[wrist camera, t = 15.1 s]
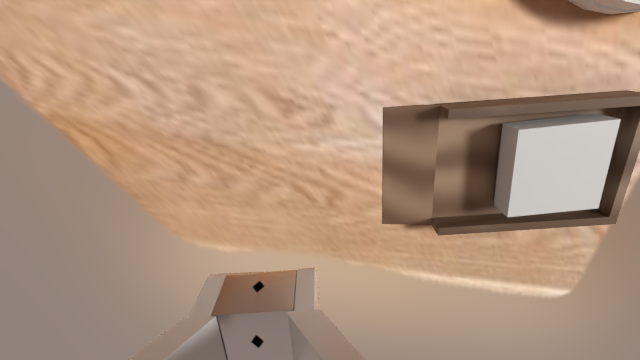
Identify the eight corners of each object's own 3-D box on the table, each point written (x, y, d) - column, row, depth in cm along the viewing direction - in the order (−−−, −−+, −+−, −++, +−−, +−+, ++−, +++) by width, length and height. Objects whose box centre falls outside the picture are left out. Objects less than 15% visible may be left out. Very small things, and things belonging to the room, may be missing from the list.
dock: (382, 106, 37) (389, 113, 33) (622, 89, 36) (657, 94, 33) (381, 221, 42) (388, 238, 39) (588, 208, 42) (615, 223, 38)
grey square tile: (497, 121, 36) (518, 129, 32) (589, 111, 36) (620, 119, 32) (489, 201, 40) (507, 217, 36) (572, 193, 40) (598, 208, 36)
